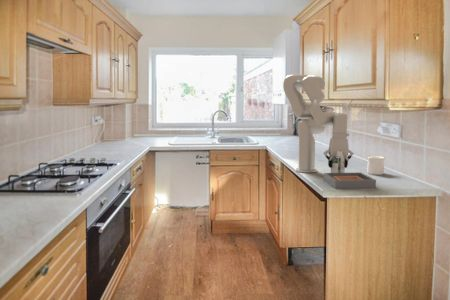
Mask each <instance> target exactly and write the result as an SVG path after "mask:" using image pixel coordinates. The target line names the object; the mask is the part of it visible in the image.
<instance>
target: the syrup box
mask: <svg viewBox="0 0 450 300" xmlns="http://www.w3.org/2000/svg"><path fill="white" fill-rule="evenodd" d="M331 161H332V168H330V173H345V172H346V171H345V169H346V168H345V157H344V156H343V152H342V151H337V155H336V156H335V157H333V158H332V160H331Z"/></svg>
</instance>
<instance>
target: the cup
mask: <svg viewBox="0 0 450 300" xmlns="http://www.w3.org/2000/svg"><path fill="white" fill-rule="evenodd" d="M366 171H367V172H366V173H367V174H368V175H373V176H379V175H384V172H385V157H384V156H380V155H370V156H367V166H366Z"/></svg>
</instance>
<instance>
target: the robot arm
mask: <svg viewBox="0 0 450 300" xmlns="http://www.w3.org/2000/svg"><path fill="white" fill-rule="evenodd" d="M325 83H326V82H325V80H324V78H323V77H321V76H316V75H308V74H289V75H287V76H286V77H284V79H283V85H282V86H283V91H284V95H286V98H287V100H288V101H289V105H290V107H291V108H292V111H293V114H294V116H295V117H296V118H297V119H301V120H300V121H299V122H298V123H297V133H298V167H297V168H296V169H295V171H296V172H297V173H305V174H306V173H309V174H310V173H317V172H318V169H317V168H315V167H316V166H315V164H316V163H315V162H316V140H315V137H314V135H319V134H321V133H324V131H325V128H326V126H328V127H329V126H331V127H332V136H331V137H330V139H329V143H328V149H327V150H325V151H324V152H323V153H322V154H323V155H324V157H325V158H326V159H327V161H328V162H327V166H328V168H330V169H331V168H332V161H331V160H332V158H333V157H335V156H336V155H337V151H342V152H343V156H344V157H345V169H346V168H347V169H348V166H349V160H350V159H352V157H353V155H354V152H353V151H351V150H350V149H349V141H348V137H350V133H348V131H347V130H348V114H347V113H343V112H342V113H341V112H335V111H329V112H326V111H325V112H324V111H323V110H322V108H321V107H320V103H322V102H323V101H324V100H325V97H326V95H325V93H324V92H323V90H324V89H325V86H326V84H325ZM299 89H300V90H301V89H302V90H304V92H305V94H306V95H307V97H308V99H309V101H310V102H306V101H305V99H304V96H303V95H302V93H301V92H300V91H299Z"/></svg>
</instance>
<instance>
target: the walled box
mask: <svg viewBox="0 0 450 300" xmlns="http://www.w3.org/2000/svg"><path fill="white" fill-rule="evenodd" d="M323 180H324V182H326V183H327V184H328V185H330V186H331V187H332V188H334V189H376V188H377V187H376V186H377V180H376V179H375V178H373V177H371V176H368V175H367V174H365V173H363V172H344V173H331V172H324V173H323Z"/></svg>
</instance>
